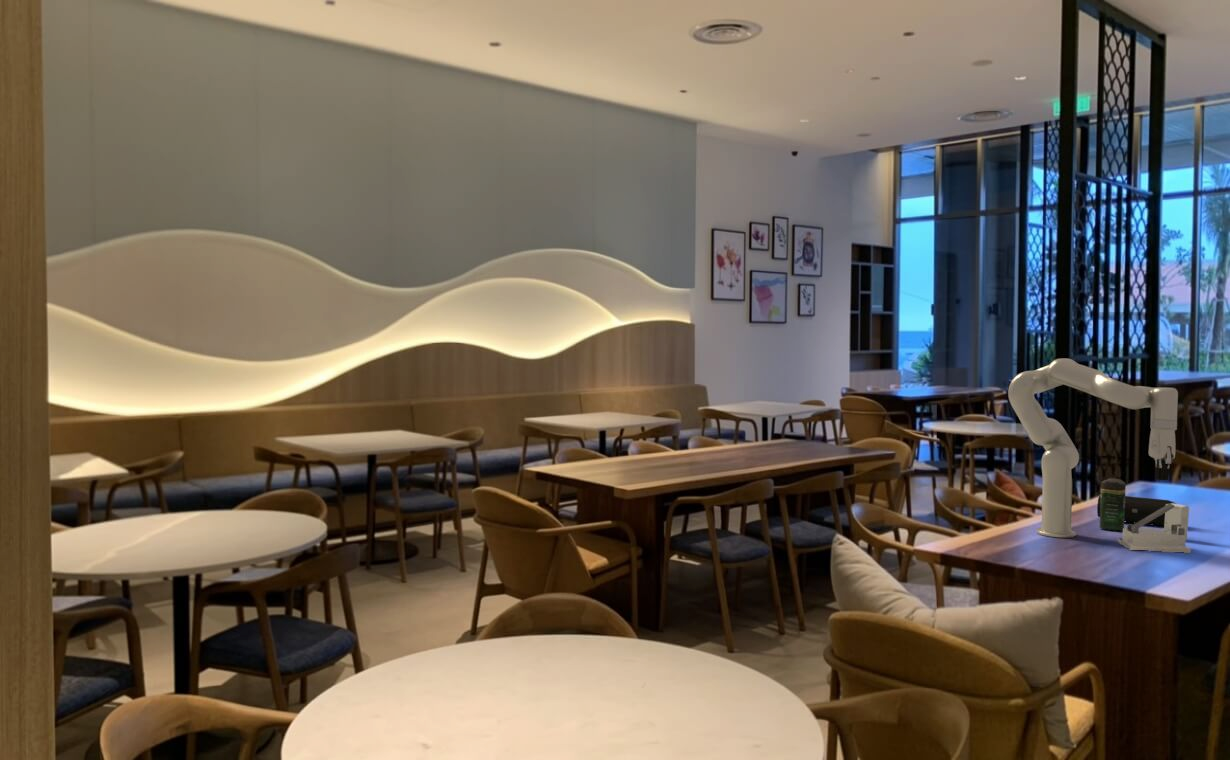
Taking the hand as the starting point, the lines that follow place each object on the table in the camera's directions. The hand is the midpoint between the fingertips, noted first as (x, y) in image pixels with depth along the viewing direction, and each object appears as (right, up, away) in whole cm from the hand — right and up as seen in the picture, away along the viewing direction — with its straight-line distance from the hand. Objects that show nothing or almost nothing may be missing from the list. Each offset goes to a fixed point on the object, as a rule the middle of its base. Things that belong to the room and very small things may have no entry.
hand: (1161, 479), depth 302 cm
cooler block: (-2, -23, +1) cm, 23 cm away
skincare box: (+14, -23, +15) cm, 30 cm away
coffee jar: (+1, -22, +31) cm, 38 cm away
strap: (-2, -13, +1) cm, 13 cm away
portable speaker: (+16, -22, +43) cm, 51 cm away
